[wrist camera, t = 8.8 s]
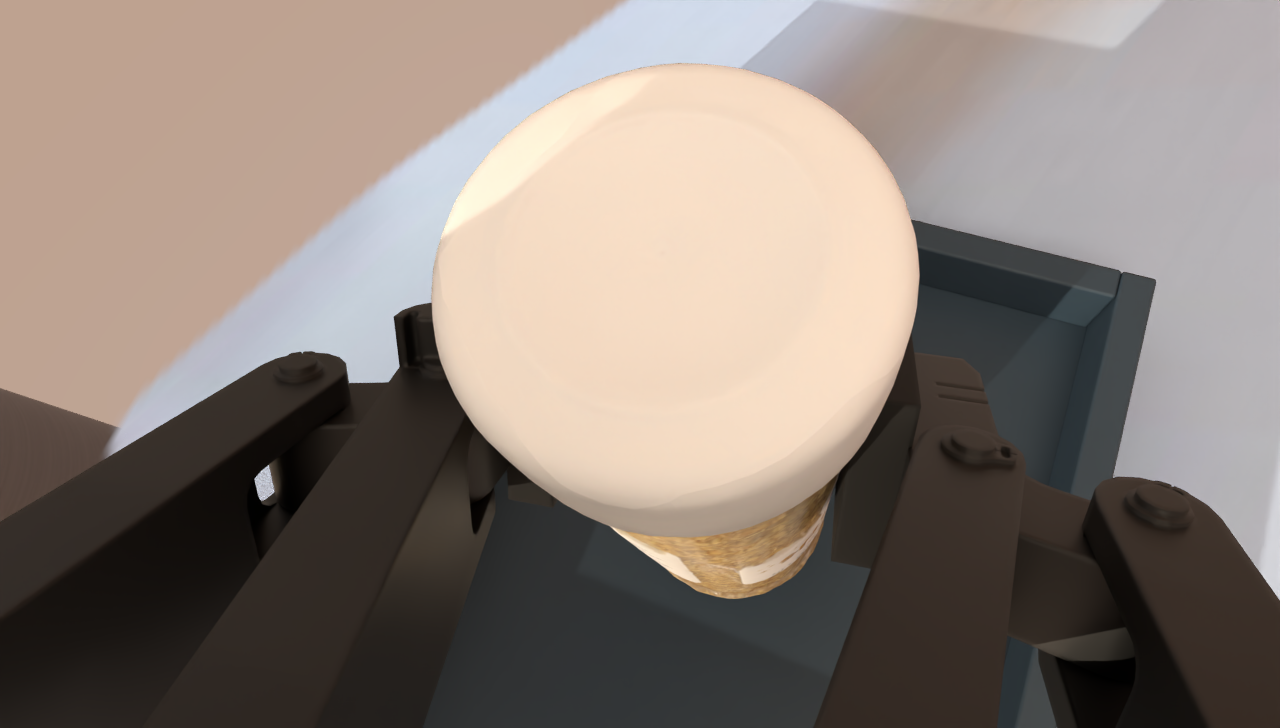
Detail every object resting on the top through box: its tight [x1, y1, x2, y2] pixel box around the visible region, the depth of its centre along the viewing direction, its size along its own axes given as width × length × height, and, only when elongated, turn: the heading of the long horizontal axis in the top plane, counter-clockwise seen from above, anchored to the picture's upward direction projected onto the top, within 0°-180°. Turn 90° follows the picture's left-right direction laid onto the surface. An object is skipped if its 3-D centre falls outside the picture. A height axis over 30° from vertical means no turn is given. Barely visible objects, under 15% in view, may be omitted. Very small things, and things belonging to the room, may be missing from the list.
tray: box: [423, 220, 1156, 728], centre depth 20 cm, size 16×20×2 cm
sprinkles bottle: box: [431, 63, 920, 599], centre depth 13 cm, size 5×5×13 cm
